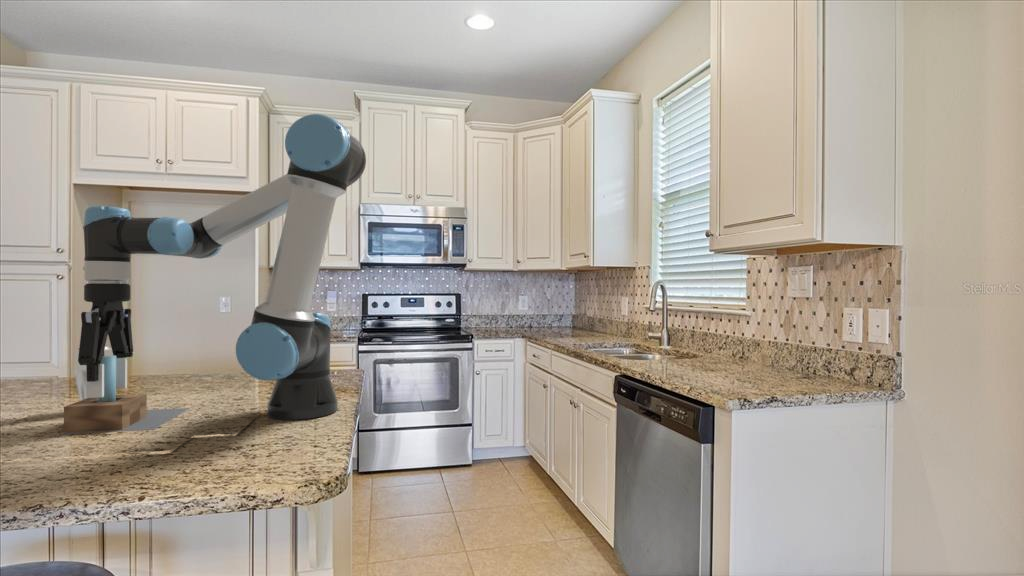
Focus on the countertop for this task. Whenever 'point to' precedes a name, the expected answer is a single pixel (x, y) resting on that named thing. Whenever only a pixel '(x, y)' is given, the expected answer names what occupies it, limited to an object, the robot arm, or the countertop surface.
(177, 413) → the mat
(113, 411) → the wooden peg holder
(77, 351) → the beer glass
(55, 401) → the countertop surface
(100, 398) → the dowel
